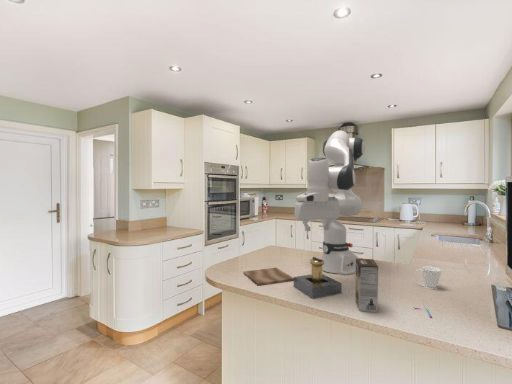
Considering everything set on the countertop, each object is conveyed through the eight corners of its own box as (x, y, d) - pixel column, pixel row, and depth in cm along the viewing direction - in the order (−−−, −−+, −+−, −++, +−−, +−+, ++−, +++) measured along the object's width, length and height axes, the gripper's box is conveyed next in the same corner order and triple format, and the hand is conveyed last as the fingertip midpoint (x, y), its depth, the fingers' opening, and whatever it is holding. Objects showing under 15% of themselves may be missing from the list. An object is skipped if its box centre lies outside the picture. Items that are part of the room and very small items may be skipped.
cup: (442, 291, 114) (442, 272, 114) (414, 287, 119) (414, 268, 119) (439, 286, 121) (439, 267, 121) (413, 282, 125) (413, 264, 125)
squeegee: (408, 297, 107) (423, 300, 105) (408, 300, 107) (423, 302, 106) (414, 314, 93) (432, 317, 91) (414, 317, 93) (432, 319, 91)
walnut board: (276, 269, 143) (276, 267, 143) (294, 280, 127) (294, 278, 126) (243, 273, 136) (243, 271, 136) (257, 285, 120) (257, 283, 120)
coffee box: (354, 300, 105) (355, 258, 105) (372, 301, 104) (373, 259, 103) (358, 311, 96) (359, 264, 96) (378, 312, 95) (379, 266, 94)
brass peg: (318, 286, 119) (318, 256, 119) (326, 291, 114) (326, 259, 114) (307, 288, 117) (307, 257, 117) (315, 293, 112) (315, 260, 112)
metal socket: (320, 282, 125) (320, 273, 125) (341, 293, 112) (341, 283, 112) (293, 286, 119) (293, 276, 119) (312, 298, 107) (312, 288, 106)
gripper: (333, 196, 122) (332, 228, 122) (292, 196, 114) (292, 230, 114) (343, 197, 116) (342, 230, 116) (300, 197, 108) (300, 232, 108)
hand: (317, 230), depth 115 cm, fingers open, 8 cm apart
